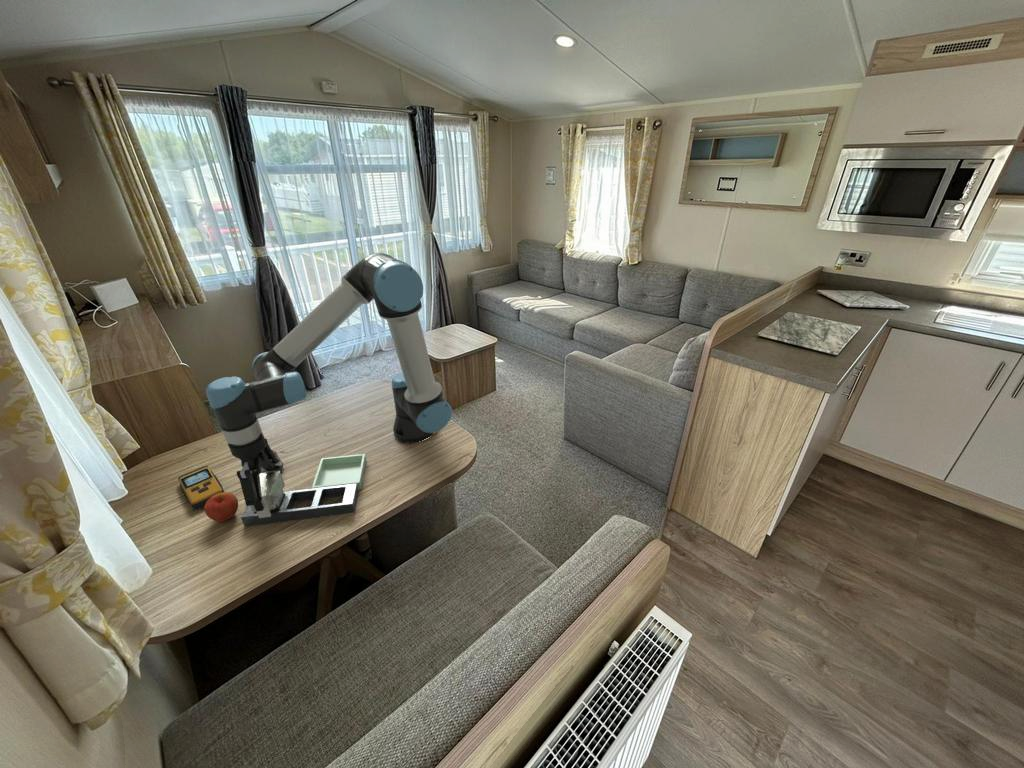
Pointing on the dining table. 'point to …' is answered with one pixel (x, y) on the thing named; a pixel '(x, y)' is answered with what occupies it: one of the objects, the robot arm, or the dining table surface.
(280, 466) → the rock
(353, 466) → the tray
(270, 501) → the white rectangular block
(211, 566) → the dining table surface
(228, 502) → the apple
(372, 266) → the robot arm
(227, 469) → the dining table surface
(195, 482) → the electronic device
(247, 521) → the rail
